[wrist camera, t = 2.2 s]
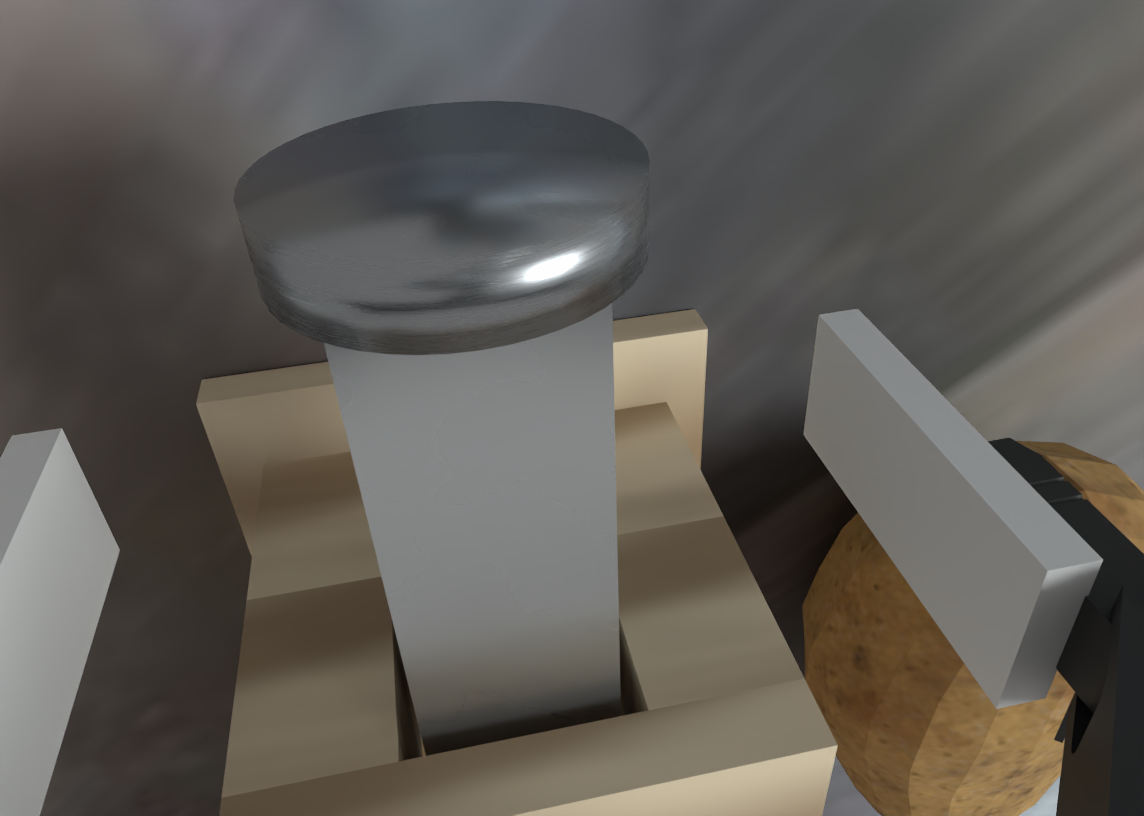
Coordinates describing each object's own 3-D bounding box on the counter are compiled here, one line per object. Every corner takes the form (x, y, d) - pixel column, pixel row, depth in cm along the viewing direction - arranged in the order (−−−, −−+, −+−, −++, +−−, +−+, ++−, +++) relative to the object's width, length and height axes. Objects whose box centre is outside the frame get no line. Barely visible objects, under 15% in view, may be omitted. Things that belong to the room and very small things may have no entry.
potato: (728, 697, 32) (820, 924, 26) (798, 375, 24) (957, 589, 18) (968, 661, 34) (1109, 864, 28) (1108, 349, 26) (1352, 536, 20)
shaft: (253, 123, 13) (207, 287, 9) (598, 86, 14) (704, 222, 10) (463, 935, 29) (481, 1133, 24) (620, 898, 29) (664, 1085, 25)
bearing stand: (201, 379, 21) (92, 823, 12) (695, 308, 22) (916, 656, 14) (360, 830, 33) (364, 1219, 24) (676, 762, 34) (788, 1105, 25)
